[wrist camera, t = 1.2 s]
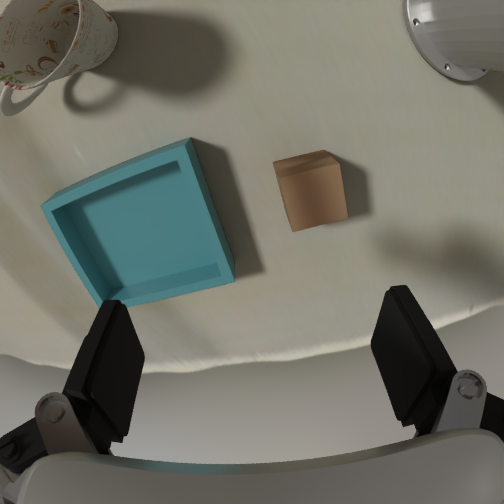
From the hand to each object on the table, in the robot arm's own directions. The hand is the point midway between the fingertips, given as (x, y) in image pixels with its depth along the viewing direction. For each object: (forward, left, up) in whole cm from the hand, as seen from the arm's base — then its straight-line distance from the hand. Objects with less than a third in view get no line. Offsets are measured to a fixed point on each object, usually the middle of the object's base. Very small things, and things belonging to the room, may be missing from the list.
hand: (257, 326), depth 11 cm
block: (-5, +3, -21) cm, 22 cm away
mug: (+12, -16, -21) cm, 29 cm away
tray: (+12, +3, -21) cm, 24 cm away
